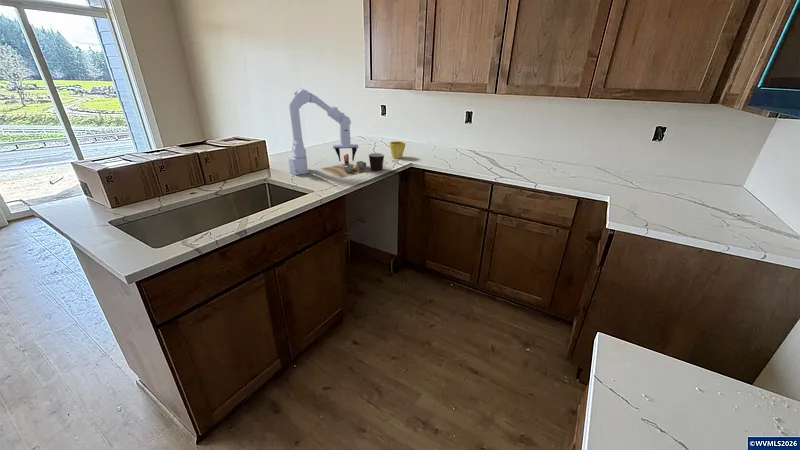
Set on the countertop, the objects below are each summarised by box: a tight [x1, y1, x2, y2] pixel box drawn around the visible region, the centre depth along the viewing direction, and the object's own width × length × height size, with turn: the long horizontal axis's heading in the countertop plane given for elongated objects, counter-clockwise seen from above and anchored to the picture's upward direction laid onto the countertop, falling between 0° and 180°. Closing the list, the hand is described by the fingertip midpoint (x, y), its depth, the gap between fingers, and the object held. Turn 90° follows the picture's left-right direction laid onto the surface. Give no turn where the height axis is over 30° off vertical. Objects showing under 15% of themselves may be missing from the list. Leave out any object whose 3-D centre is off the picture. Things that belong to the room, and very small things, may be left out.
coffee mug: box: [368, 152, 385, 172], centre depth 192 cm, size 12×9×10 cm
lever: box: [343, 153, 352, 173], centre depth 191 cm, size 18×4×6 cm, turn 12°
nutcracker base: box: [320, 160, 371, 179], centre depth 189 cm, size 20×22×6 cm
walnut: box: [353, 164, 360, 171], centre depth 187 cm, size 4×4×4 cm
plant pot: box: [389, 141, 406, 159], centre depth 223 cm, size 10×10×10 cm
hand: (346, 160), depth 197 cm, fingers open, 7 cm apart
